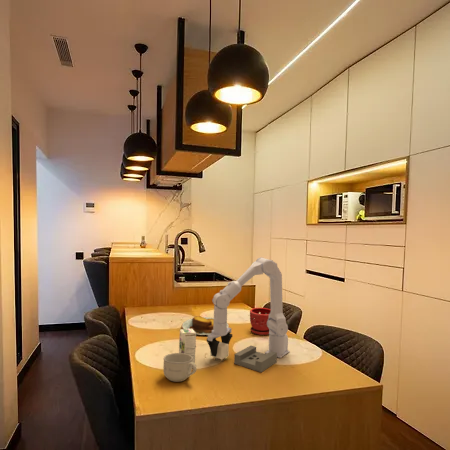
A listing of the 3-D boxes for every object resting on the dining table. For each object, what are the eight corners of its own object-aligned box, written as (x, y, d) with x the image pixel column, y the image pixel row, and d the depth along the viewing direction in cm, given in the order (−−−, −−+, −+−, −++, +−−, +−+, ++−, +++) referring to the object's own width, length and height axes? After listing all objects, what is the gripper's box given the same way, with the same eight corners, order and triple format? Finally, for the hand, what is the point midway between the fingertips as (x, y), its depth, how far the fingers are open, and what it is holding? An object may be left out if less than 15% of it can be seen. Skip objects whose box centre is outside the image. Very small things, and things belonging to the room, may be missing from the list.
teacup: (157, 377, 126) (157, 356, 126) (180, 369, 133) (181, 349, 133) (179, 391, 116) (180, 368, 116) (203, 381, 123) (204, 360, 123)
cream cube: (217, 355, 148) (217, 341, 148) (228, 359, 144) (228, 344, 144) (210, 359, 144) (210, 344, 144) (221, 363, 140) (221, 347, 140)
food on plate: (235, 326, 192) (235, 314, 192) (218, 340, 168) (218, 327, 168) (194, 320, 201) (194, 309, 201) (172, 332, 178) (173, 320, 178)
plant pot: (244, 331, 181) (244, 309, 181) (260, 327, 190) (261, 306, 190) (262, 338, 172) (263, 315, 172) (278, 333, 180) (279, 311, 180)
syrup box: (178, 364, 138) (178, 329, 138) (191, 362, 140) (192, 327, 140) (181, 370, 132) (182, 333, 132) (195, 368, 135) (196, 332, 134)
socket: (250, 354, 150) (250, 345, 150) (276, 362, 143) (276, 352, 143) (234, 363, 140) (234, 354, 140) (261, 372, 132) (261, 362, 132)
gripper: (222, 316, 152) (222, 346, 152) (202, 323, 140) (201, 355, 140) (235, 319, 148) (234, 349, 148) (215, 327, 136) (214, 360, 136)
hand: (219, 353), depth 144 cm, fingers open, 7 cm apart
